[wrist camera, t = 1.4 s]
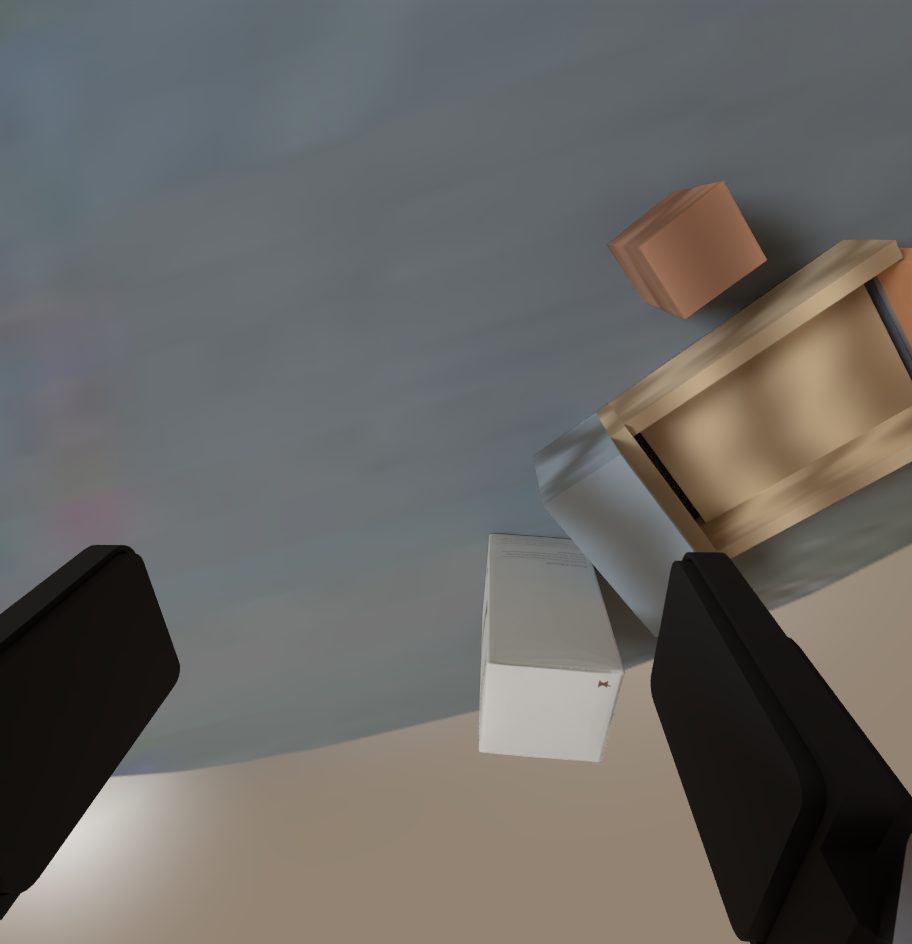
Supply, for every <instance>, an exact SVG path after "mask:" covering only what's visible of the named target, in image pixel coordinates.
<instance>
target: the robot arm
mask: <svg viewBox="0 0 912 944" xmlns="http://www.w3.org/2000/svg"><path fill="white" fill-rule="evenodd" d="M179 673H180V664H179V660H178V658H177V655H176V652H175V649H174V646H173V643H172V641H171V638H170V635H169V632H168V629H167V627H166V624H165V621H164V618H163V615H162V612H161V610H160V607H159V604H158V601H157V598H156V596H155V593H154V590H153V587H152V584H151V581H150V579H149V576H148V573H147V570H146V567H145V564H144V562H143V560H142V558H141V557H140V556H139V555H138V554H135V552H134V550H133V549H132V548H130V547H129V546H125V545H93V546H90V547H88V548H86V549H84V550H83V551H82V552H81V553H79V554H78V555H77V556H75V557H74V558H73V559H71V560H70V561H69V562H68V563H66V564H65V565H64V566H62V567H61V568H60V569H58V570H57V571H56V572H55V573H53V574H52V575H51V576H49V577H48V578H47V579H45V580H44V581H43V582H42V583H40V584H39V585H38V586H36V587H35V588H34V589H32V590H31V591H30V592H29V593H27V594H26V595H25V596H23V597H22V598H21V599H19V600H18V601H17V602H16V603H14V604H13V605H12V606H10V607H9V608H8V609H6V610H5V611H4V612H3V613H1V614H0V920H2V918H3V917H4V916H5V914H6V913H7V911H8V910H9V908H10V907H11V906H12V904H13V903H14V902H15V900H16V899H17V897H18V896H19V895H20V893H22V892H24V891H26V890H27V889H28V888H30V887H31V886H32V885H33V884H34V883H35V882H36V880H37V879H38V878H39V877H40V875H41V874H42V873H43V871H44V870H45V868H46V867H47V865H48V864H49V863H50V861H51V860H52V858H53V857H54V856H55V854H56V853H57V851H58V850H59V848H60V847H61V846H62V844H63V843H64V841H65V840H66V839H67V837H68V836H69V834H70V833H71V832H72V830H73V828H74V827H75V826H76V824H77V823H78V821H79V820H80V819H81V817H82V816H83V815H84V813H85V812H86V810H87V809H88V807H89V806H90V805H91V803H92V802H93V800H94V799H95V797H96V796H97V795H98V793H99V792H100V791H101V789H102V788H103V786H104V785H105V783H106V782H107V781H108V779H109V778H110V776H111V775H112V774H113V772H114V771H115V769H116V768H117V766H118V765H119V764H120V762H121V761H122V759H123V758H124V757H125V755H126V754H127V752H128V751H129V749H130V748H131V747H132V745H133V744H134V742H135V741H136V740H137V738H138V737H139V735H140V734H141V732H142V731H143V730H144V728H145V727H146V725H147V724H148V723H149V721H150V720H151V718H152V717H153V715H154V714H155V713H156V711H157V710H158V708H159V707H160V706H161V704H162V703H163V701H164V700H165V698H166V697H167V696H168V694H169V693H170V691H171V690H172V689H173V687H174V686H175V684H176V682H177V680H178V677H179ZM651 692H652V697H653V701H654V704H655V707H656V710H657V713H658V715H659V718H660V721H661V724H662V727H663V730H664V733H665V736H666V739H667V742H668V744H669V747H670V750H671V753H672V756H673V759H674V762H675V764H676V767H677V770H678V773H679V776H680V779H681V782H682V785H683V788H684V791H685V793H686V796H687V799H688V802H689V805H690V808H691V811H692V814H693V817H694V820H695V822H696V825H697V828H698V831H699V834H700V837H701V840H702V842H703V845H704V848H705V851H706V854H707V857H708V860H709V863H710V866H711V869H712V871H713V874H714V877H715V880H716V883H717V886H718V889H719V891H720V894H721V897H722V900H723V903H724V906H725V909H726V912H727V915H728V917H729V920H730V923H731V925H732V928H733V930H734V932H735V934H736V935H737V937H738V938H739V939H740V940H741V941H748V942H750V944H912V797H911V795H910V794H909V793H908V791H907V790H906V788H905V787H904V786H903V785H902V783H901V782H900V781H899V779H898V778H897V776H896V775H895V774H894V773H893V771H892V770H891V768H890V767H889V766H888V764H887V763H886V762H885V760H884V759H883V758H882V756H881V755H880V754H879V752H878V751H877V750H876V748H875V747H874V746H873V745H872V743H871V742H870V740H869V739H868V738H867V736H866V735H865V734H864V732H863V731H862V730H861V728H860V727H859V726H858V724H857V723H856V722H855V720H854V719H853V718H852V716H851V715H850V714H849V712H848V711H847V710H846V708H845V707H844V706H843V704H842V703H841V702H840V700H839V699H838V698H837V696H836V695H835V694H834V692H833V691H832V690H831V688H830V687H829V686H828V684H827V683H826V682H825V680H824V679H823V677H822V676H821V675H820V674H819V672H818V671H817V669H816V668H815V667H814V665H813V664H812V663H811V662H810V660H809V659H808V657H807V656H806V655H805V653H804V652H803V651H802V649H801V648H800V647H799V646H798V645H797V644H796V643H795V642H794V641H793V640H792V639H791V638H789V637H787V636H786V635H785V633H784V632H783V630H782V629H781V628H780V626H779V625H778V624H777V622H776V621H775V619H774V618H773V617H772V615H771V614H770V613H769V611H768V610H767V608H766V607H765V606H764V604H763V603H762V602H761V600H760V599H759V598H758V596H757V595H756V594H755V592H754V591H753V589H752V588H751V587H750V585H749V584H748V583H747V581H746V580H745V579H744V577H743V576H742V574H741V573H740V572H739V570H738V569H737V568H736V566H735V565H734V564H733V562H732V561H731V560H730V558H729V557H728V556H727V555H726V554H725V553H722V552H687V553H685V555H684V556H683V559H682V561H674V562H673V564H672V566H671V571H670V576H669V582H668V587H667V592H666V598H665V603H664V609H663V614H662V619H661V625H660V630H659V636H658V641H657V647H656V652H655V657H654V663H653V668H652V674H651Z"/></svg>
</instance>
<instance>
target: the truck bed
mask: <svg viewBox="0 0 912 944" xmlns="http://www.w3.org/2000/svg"><path fill="white" fill-rule="evenodd" d="M902 258H903V256H902V254H901V251H900V249H899V247H898V245H897V243H896V241H895V240H842V241H840V242H839V243H837V244H836V245H834V246H833V247H832V248H830V249H829V250H827V251H826V252H824V253H823V254H822V255H820V256H819V257H817V258H816V259H814V260H813V261H812V262H810V263H809V264H807V265H806V266H804V267H803V268H802V269H800V270H799V271H797V272H796V273H794V274H793V275H792V276H790V277H789V278H787V279H786V280H784V281H783V282H782V283H780V284H779V285H777V286H776V287H774V288H773V289H772V290H770V291H769V292H767V293H766V294H764V295H763V296H762V297H760V298H759V299H757V300H756V301H754V302H753V303H752V304H750V305H749V306H747V307H746V308H744V309H743V310H742V311H740V312H739V313H737V314H736V315H734V316H733V317H732V318H730V319H729V320H727V321H726V322H724V323H723V324H722V325H720V326H719V327H717V328H716V329H714V330H713V331H711V332H710V333H709V334H707V335H706V336H704V337H703V338H701V339H700V340H699V341H697V342H696V343H694V344H693V345H691V346H690V347H689V348H687V349H686V350H684V351H683V352H681V353H680V354H679V355H677V356H676V357H674V358H673V359H671V360H670V361H669V362H667V363H666V364H664V365H663V366H661V367H660V368H659V369H657V370H656V371H654V372H653V373H651V374H650V375H649V376H647V377H646V378H644V379H643V380H641V381H640V382H639V383H637V384H636V385H634V386H633V387H631V388H630V389H629V390H627V391H626V392H624V393H623V394H621V395H620V396H619V397H617V398H616V399H614V400H613V401H611V402H610V403H609V404H607V405H606V406H604V407H603V408H601V409H600V410H599V411H597V412H596V413H594V414H593V415H591V416H590V417H589V418H587V419H586V420H584V421H583V422H581V423H580V424H579V425H577V426H576V427H574V428H573V429H571V430H570V431H569V432H567V433H566V434H564V435H563V436H561V437H560V438H559V439H557V440H556V441H554V442H553V443H551V444H550V445H549V446H547V447H546V448H544V449H543V450H541V451H540V452H539V453H537V454H536V455H534V456H533V457H534V462H535V467H536V472H537V478H538V483H539V488H540V493H541V499H542V504H543V506H544V507H545V509H546V510H547V511H548V512H549V513H550V515H551V516H552V517H553V518H554V519H555V520H556V522H557V523H558V524H559V525H560V526H561V527H562V529H563V530H564V531H565V532H566V533H567V534H568V536H569V537H570V538H571V539H572V540H573V542H574V543H575V544H576V545H577V546H578V547H579V549H580V550H581V551H582V552H583V553H584V554H585V556H586V557H587V558H588V559H589V560H590V561H591V563H592V564H593V565H594V566H595V567H596V569H597V570H598V571H599V572H600V573H601V574H602V576H603V577H604V578H605V579H606V580H607V581H608V583H609V584H610V585H611V586H612V587H613V589H614V590H615V591H616V592H617V593H618V594H619V596H620V597H621V598H622V599H623V600H624V601H625V603H626V604H627V605H628V606H629V607H630V608H631V610H632V611H633V612H634V613H635V614H636V616H637V617H638V618H639V619H640V620H641V621H642V623H643V624H644V625H645V626H646V627H647V628H648V630H649V631H650V632H651V633H652V634H653V636H654V637H655V638H656V637H658V636H659V630H660V625H661V619H662V614H663V609H664V603H665V598H666V592H667V587H668V582H669V576H670V571H671V566H672V564H673V562H674V561H682V559H683V556H684V555H685V553H687V552H722V553H725V554H726V555H727V556H728V557H729V558H730V559H731V558H733V557H735V556H737V555H739V554H740V553H742V552H744V551H746V550H748V549H750V548H752V547H753V546H755V545H757V544H759V543H761V542H763V541H765V540H766V539H768V538H770V537H772V536H774V535H776V534H778V533H779V532H781V531H783V530H785V529H787V528H789V527H791V526H792V525H794V524H796V523H798V522H800V521H802V520H804V519H805V518H807V517H809V516H811V515H813V514H815V513H817V512H818V511H820V510H822V509H824V508H826V507H828V506H830V505H831V504H833V503H835V502H837V501H839V500H841V499H843V498H844V497H846V496H848V495H850V494H852V493H854V492H856V491H857V490H859V489H861V488H863V487H865V486H867V485H869V484H871V483H872V482H874V481H876V480H878V479H880V478H882V477H884V476H885V475H887V474H889V473H891V472H893V471H895V470H897V469H898V468H900V467H902V466H904V465H906V464H908V463H910V462H911V461H912V381H911V379H910V376H909V374H908V372H907V370H906V368H905V366H904V364H903V362H902V360H901V358H900V356H899V354H898V352H897V350H896V348H895V346H894V344H893V342H892V340H891V338H890V336H889V334H888V332H887V330H886V328H885V326H884V324H883V322H882V320H881V318H880V316H879V314H878V312H877V310H876V308H875V306H874V304H873V302H872V300H871V298H870V296H869V294H868V292H867V290H866V288H865V286H864V283H865V282H867V281H868V280H870V279H872V278H873V277H875V276H876V275H878V274H879V273H881V272H882V271H884V270H885V269H887V268H888V267H890V266H891V265H893V264H894V263H896V262H897V261H899V260H900V259H902ZM639 432H640V433H641V434H642V436H643V437H644V438H645V440H646V441H647V443H648V444H649V445H650V447H651V448H652V449H653V451H654V452H655V454H656V455H657V456H658V458H659V459H660V460H661V462H662V463H663V465H664V466H665V467H666V469H667V470H668V471H669V473H670V474H671V476H672V477H673V478H674V480H675V481H676V482H677V484H678V485H679V487H680V488H681V489H682V491H683V492H684V493H685V495H686V496H687V498H688V499H689V500H690V502H691V503H692V505H693V506H694V507H695V509H696V510H697V511H698V513H699V514H700V517H698V518H696V519H695V520H694V519H693V517H692V516H691V514H690V513H689V512H688V510H687V509H686V508H685V506H684V505H683V504H682V502H681V501H680V499H679V498H678V497H677V495H676V494H675V493H674V491H673V490H672V489H671V487H670V486H669V485H668V483H667V482H666V480H665V479H664V478H663V476H662V475H661V474H660V472H659V471H658V470H657V468H656V467H655V465H654V464H653V463H652V461H651V460H650V459H649V457H648V456H647V455H646V453H645V452H644V450H643V449H642V448H641V446H640V445H639V444H638V442H637V441H636V440H635V438H634V437H633V436H635V435H636V434H638V433H639Z"/></svg>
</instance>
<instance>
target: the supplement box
mask: <svg viewBox="0 0 912 944" xmlns="http://www.w3.org/2000/svg"><path fill="white" fill-rule="evenodd" d="M624 673H625V671H624V668H623V664H622V661H621V657H620V654H619V651H618V647H617V644H616V641H615V637H614V634H613V631H612V627H611V624H610V620H609V617H608V614H607V611H606V607H605V604H604V600H603V597H602V594H601V590H600V587H599V584H598V580H597V577H596V574H595V570H594V567H593V564H592V563H591V561H590V560H589V559H588V558H587V557H586V556H585V554H584V553H583V552H582V551H581V550H580V549H579V547H578V546H577V545H576V544H575V543H574V542H573V540H572V539H561V538H549V537H536V536H522V535H508V534H490V535H489V547H488V559H487V570H486V582H485V593H484V605H483V623H482V650H481V682H480V713H479V714H480V715H479V751H480V752H485V753H494V754H505V755H518V756H527V757H539V758H552V759H566V760H579V761H588V762H596V763H599V762H601V761H602V759H603V755H604V752H605V747H606V743H607V739H608V735H609V731H610V727H611V724H612V720H613V717H614V712H615V708H616V704H617V700H618V696H619V692H620V688H621V684H622V681H623V678H624Z"/></svg>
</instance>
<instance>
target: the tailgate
mask: <svg viewBox="0 0 912 944" xmlns="http://www.w3.org/2000/svg"><path fill="white" fill-rule="evenodd" d="M899 249H900V251H901V254H902V256H903V258H902V259H900V260H899V261H897V262H896V263H894V264H893V265H891V266H890V267H888V268H887V269H885V270H884V271H882V272H881V273H879V274H878V275H876V276H875V277H873V278H872V279H873V282H874V284H875V286H876V288H877V290H878V292H879V294H880V296H881V298H882V300H883V302H884V304H885V306H886V308H887V310H888V312H889V314H890V316H891V318H892V320H893V323H894V325H895V327H896V329H897V331H898V333H899V335H900V337H901V339H902V341H903V343H904V345H905V347H906V349H907V351H908V353H909V355H910V357H911V359H912V248H899Z"/></svg>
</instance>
